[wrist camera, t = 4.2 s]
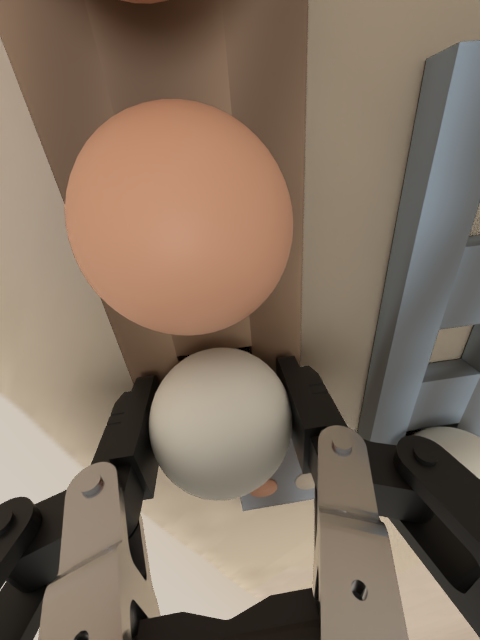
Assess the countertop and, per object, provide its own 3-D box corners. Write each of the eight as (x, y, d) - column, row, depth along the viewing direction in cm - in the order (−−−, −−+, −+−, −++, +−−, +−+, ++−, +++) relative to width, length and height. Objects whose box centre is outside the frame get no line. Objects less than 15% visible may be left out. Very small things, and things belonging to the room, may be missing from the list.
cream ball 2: (474, 400, 15) (586, 496, 10) (448, 456, 17) (529, 552, 13) (386, 413, 15) (463, 518, 10) (372, 468, 17) (429, 571, 13)
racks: (896, -500, 5) (1086, -683, 4) (442, 471, 19) (455, 488, 18) (-170, -514, 4) (-306, -761, 3) (191, 512, 18) (191, 533, 17)
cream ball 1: (272, 314, 11) (317, 412, 6) (276, 404, 13) (310, 518, 9) (147, 331, 11) (105, 444, 6) (174, 419, 13) (158, 544, 9)
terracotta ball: (265, 112, 8) (344, 35, 3) (271, 279, 10) (321, 363, 6) (84, 130, 7) (-93, 73, 3) (136, 297, 10) (80, 398, 5)
